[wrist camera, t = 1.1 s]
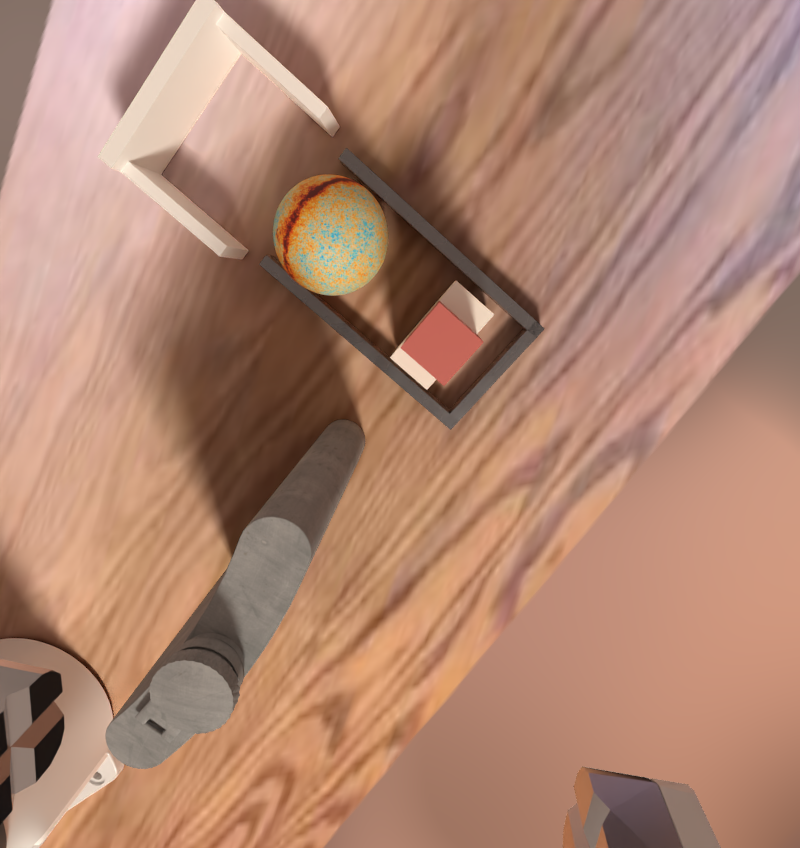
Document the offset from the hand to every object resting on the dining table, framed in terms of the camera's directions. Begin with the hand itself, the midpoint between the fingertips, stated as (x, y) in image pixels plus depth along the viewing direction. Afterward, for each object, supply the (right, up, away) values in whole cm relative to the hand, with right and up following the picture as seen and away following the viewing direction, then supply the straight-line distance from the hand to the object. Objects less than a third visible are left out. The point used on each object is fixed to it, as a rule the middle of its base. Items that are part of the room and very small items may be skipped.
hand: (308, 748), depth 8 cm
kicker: (+4, +11, +29) cm, 32 cm away
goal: (-9, +23, +27) cm, 37 cm away
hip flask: (-6, -1, +34) cm, 34 cm away
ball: (-3, +17, +29) cm, 34 cm away
